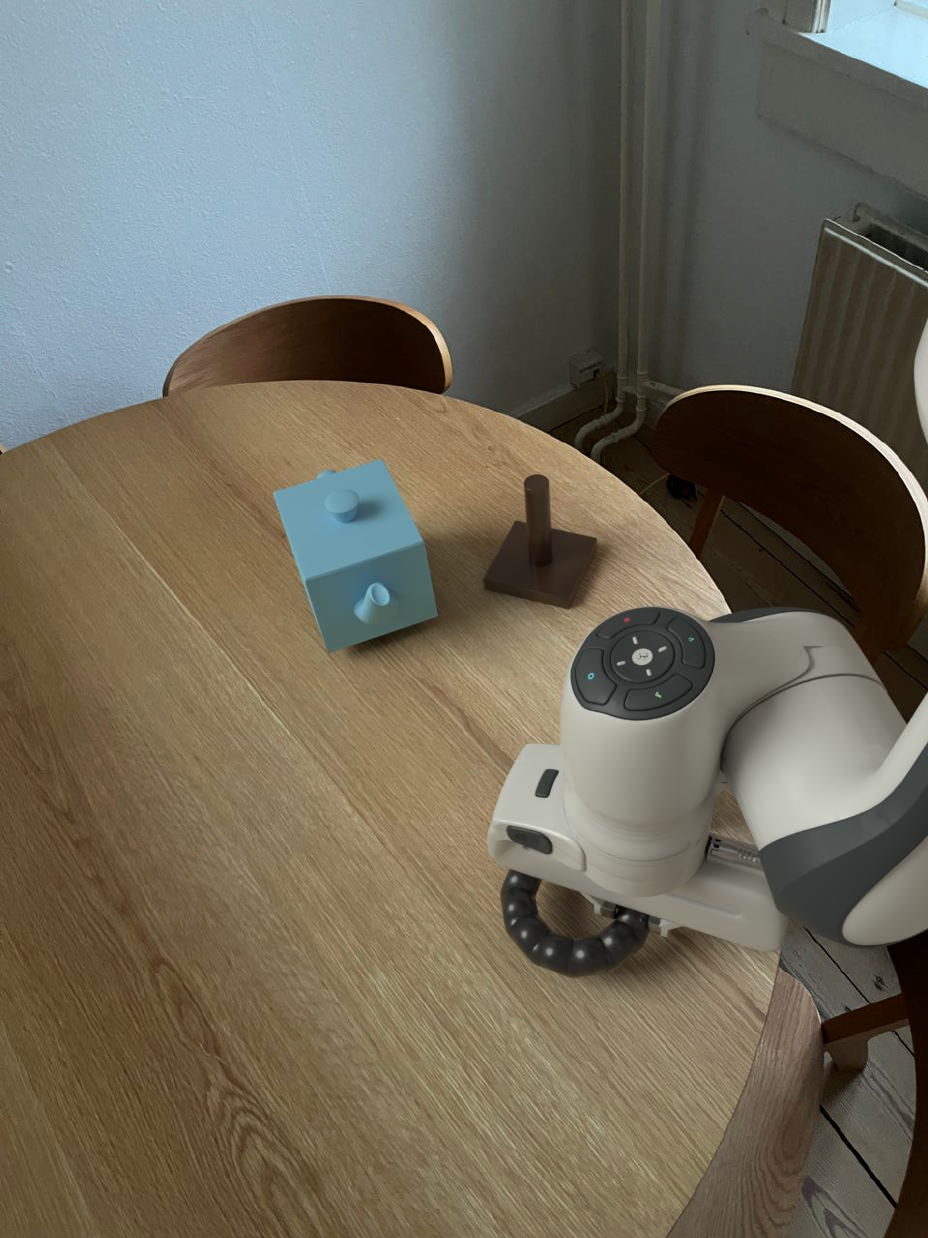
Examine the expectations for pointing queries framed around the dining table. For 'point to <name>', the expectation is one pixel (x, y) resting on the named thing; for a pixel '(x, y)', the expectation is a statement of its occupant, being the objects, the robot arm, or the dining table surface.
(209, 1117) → the dining table surface
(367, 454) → the dining table surface
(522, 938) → the ring
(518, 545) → the stand
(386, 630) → the teapot
